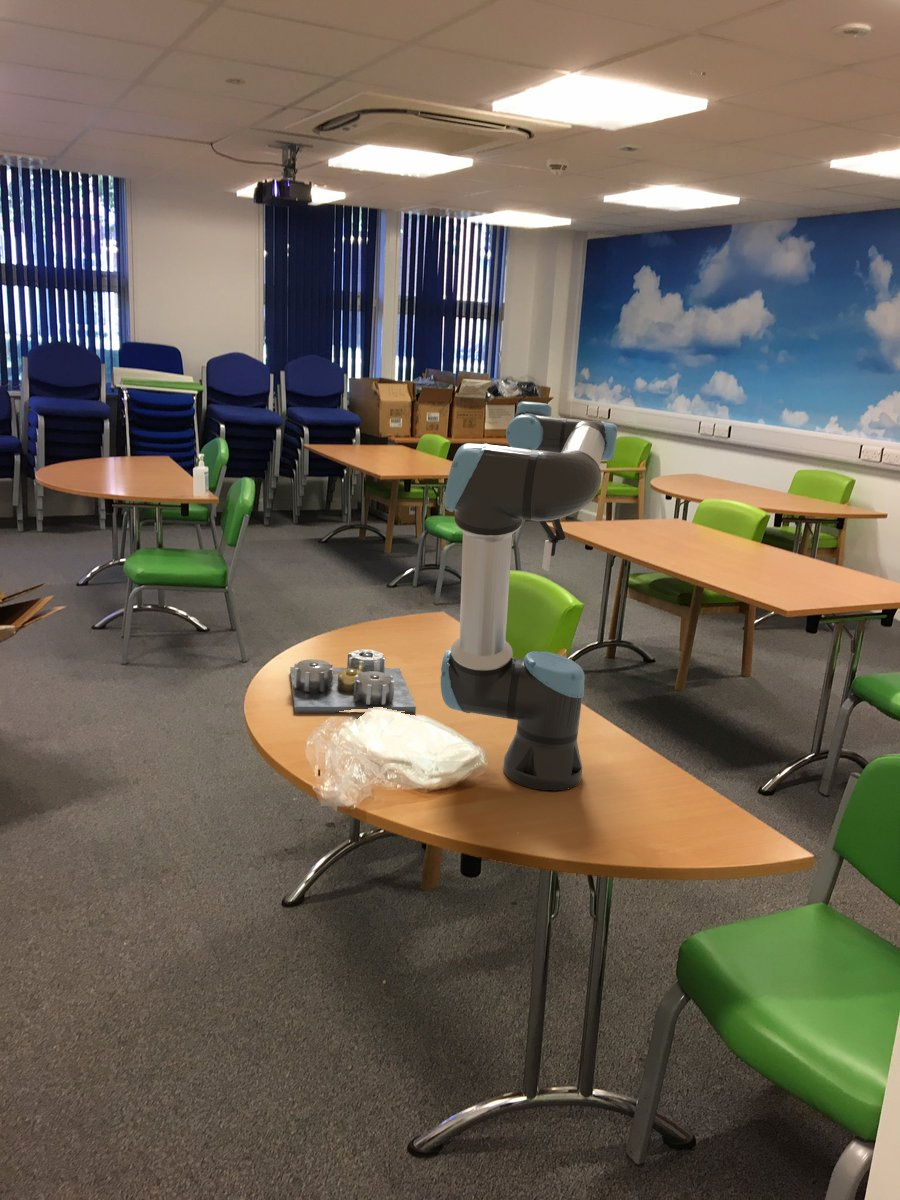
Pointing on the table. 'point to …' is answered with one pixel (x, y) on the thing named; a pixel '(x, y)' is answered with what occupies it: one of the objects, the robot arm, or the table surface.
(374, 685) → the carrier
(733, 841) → the table surface
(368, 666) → the planet gear
